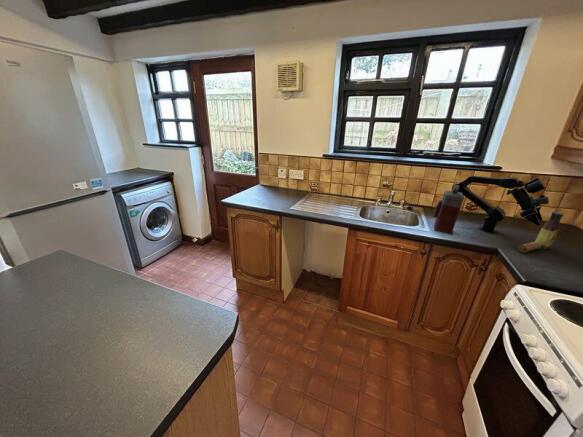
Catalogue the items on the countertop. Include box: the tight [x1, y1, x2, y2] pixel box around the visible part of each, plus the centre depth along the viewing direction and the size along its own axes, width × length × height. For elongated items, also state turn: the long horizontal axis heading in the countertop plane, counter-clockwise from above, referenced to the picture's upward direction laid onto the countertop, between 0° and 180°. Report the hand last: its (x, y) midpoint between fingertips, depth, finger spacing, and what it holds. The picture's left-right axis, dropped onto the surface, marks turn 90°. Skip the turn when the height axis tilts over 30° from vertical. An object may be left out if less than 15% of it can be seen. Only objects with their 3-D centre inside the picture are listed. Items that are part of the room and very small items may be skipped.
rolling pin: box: [517, 241, 542, 254], centre depth 127 cm, size 16×4×4 cm, turn 111°
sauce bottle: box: [534, 211, 564, 250], centre depth 128 cm, size 6×6×20 cm
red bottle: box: [433, 184, 465, 235], centre depth 142 cm, size 9×11×28 cm
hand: (540, 222), depth 130 cm, fingers open, 9 cm apart
